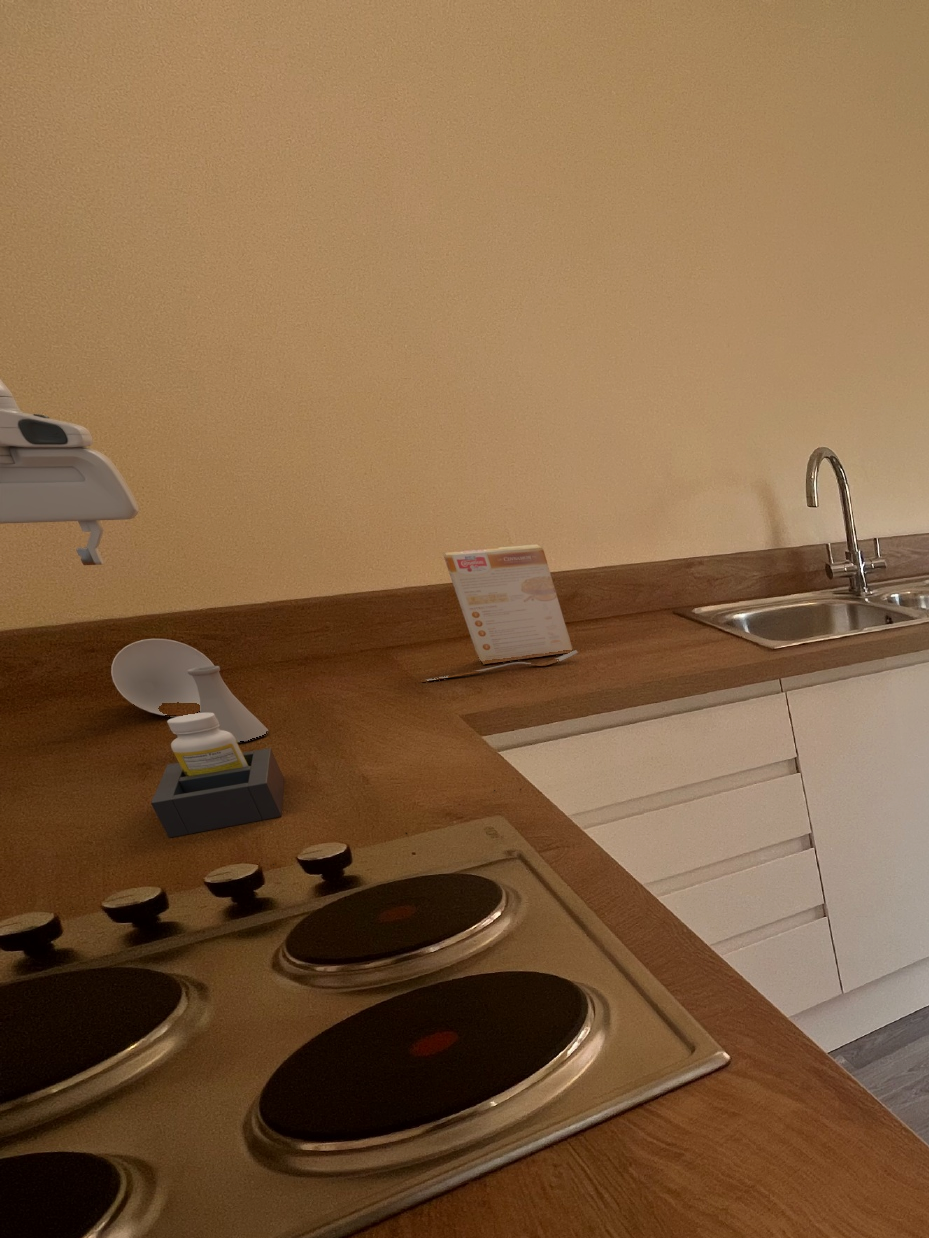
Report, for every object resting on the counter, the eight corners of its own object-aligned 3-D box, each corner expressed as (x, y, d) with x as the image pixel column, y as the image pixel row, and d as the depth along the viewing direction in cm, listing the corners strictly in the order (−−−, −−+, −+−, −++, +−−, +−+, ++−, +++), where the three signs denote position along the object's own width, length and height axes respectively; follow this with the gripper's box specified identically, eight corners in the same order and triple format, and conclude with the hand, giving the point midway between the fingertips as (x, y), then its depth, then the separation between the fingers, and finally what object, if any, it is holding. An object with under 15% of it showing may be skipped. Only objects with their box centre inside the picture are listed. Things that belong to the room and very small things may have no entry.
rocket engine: (105, 639, 150) (132, 623, 140) (202, 675, 159) (234, 662, 150) (70, 705, 147) (95, 694, 137) (171, 737, 156) (202, 729, 147)
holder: (168, 838, 101) (150, 802, 99) (183, 796, 113) (167, 764, 111) (281, 816, 106) (266, 782, 104) (284, 778, 118) (270, 747, 116)
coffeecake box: (567, 648, 187) (537, 543, 178) (574, 653, 182) (543, 546, 173) (477, 659, 178) (441, 550, 170) (482, 666, 173) (444, 553, 165)
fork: (420, 680, 164) (416, 670, 163) (578, 658, 178) (575, 649, 177) (422, 684, 161) (418, 673, 161) (582, 661, 175) (579, 652, 175)
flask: (219, 734, 136) (186, 664, 131) (280, 729, 138) (249, 660, 133) (189, 749, 129) (153, 676, 125) (253, 743, 131) (220, 672, 127)
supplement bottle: (213, 793, 113) (174, 713, 109) (269, 787, 115) (232, 708, 111) (189, 809, 109) (147, 726, 105) (247, 802, 110) (208, 720, 106)
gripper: (-210, 426, 90) (-125, 578, 96) (98, 428, 102) (156, 563, 107) (-185, 427, 94) (-106, 572, 100) (107, 428, 106) (163, 558, 112)
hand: (32, 567), depth 104 cm, fingers open, 8 cm apart
